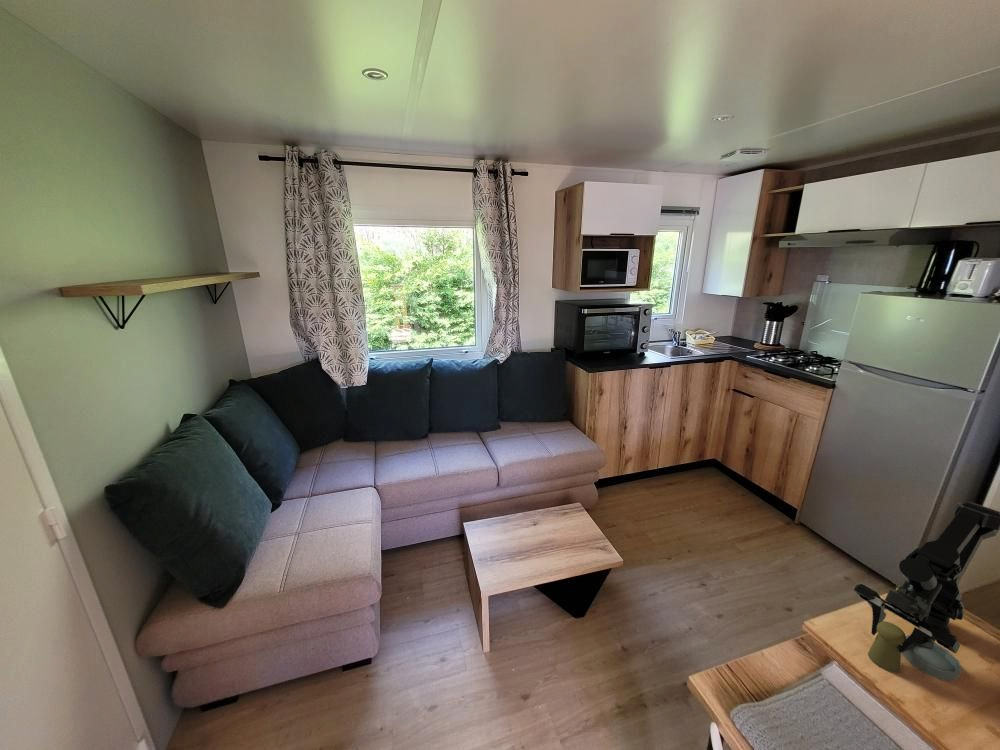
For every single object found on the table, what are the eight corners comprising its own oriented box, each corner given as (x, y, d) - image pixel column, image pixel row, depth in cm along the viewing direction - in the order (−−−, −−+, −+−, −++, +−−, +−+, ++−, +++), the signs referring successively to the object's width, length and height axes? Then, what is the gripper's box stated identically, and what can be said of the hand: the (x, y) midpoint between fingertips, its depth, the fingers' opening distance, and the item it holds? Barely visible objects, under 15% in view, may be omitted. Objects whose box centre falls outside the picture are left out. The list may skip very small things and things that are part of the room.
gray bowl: (897, 636, 104) (899, 629, 104) (952, 657, 98) (954, 649, 97) (904, 664, 97) (906, 656, 96) (963, 689, 90) (966, 681, 90)
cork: (907, 674, 94) (916, 639, 92) (878, 670, 95) (887, 636, 93) (888, 652, 100) (896, 618, 97) (861, 648, 101) (869, 615, 99)
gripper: (863, 558, 102) (833, 605, 101) (966, 610, 85) (931, 668, 84) (874, 572, 107) (845, 618, 105) (973, 625, 90) (940, 680, 88)
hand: (885, 643), depth 96 cm, fingers closed on cork, 5 cm apart
